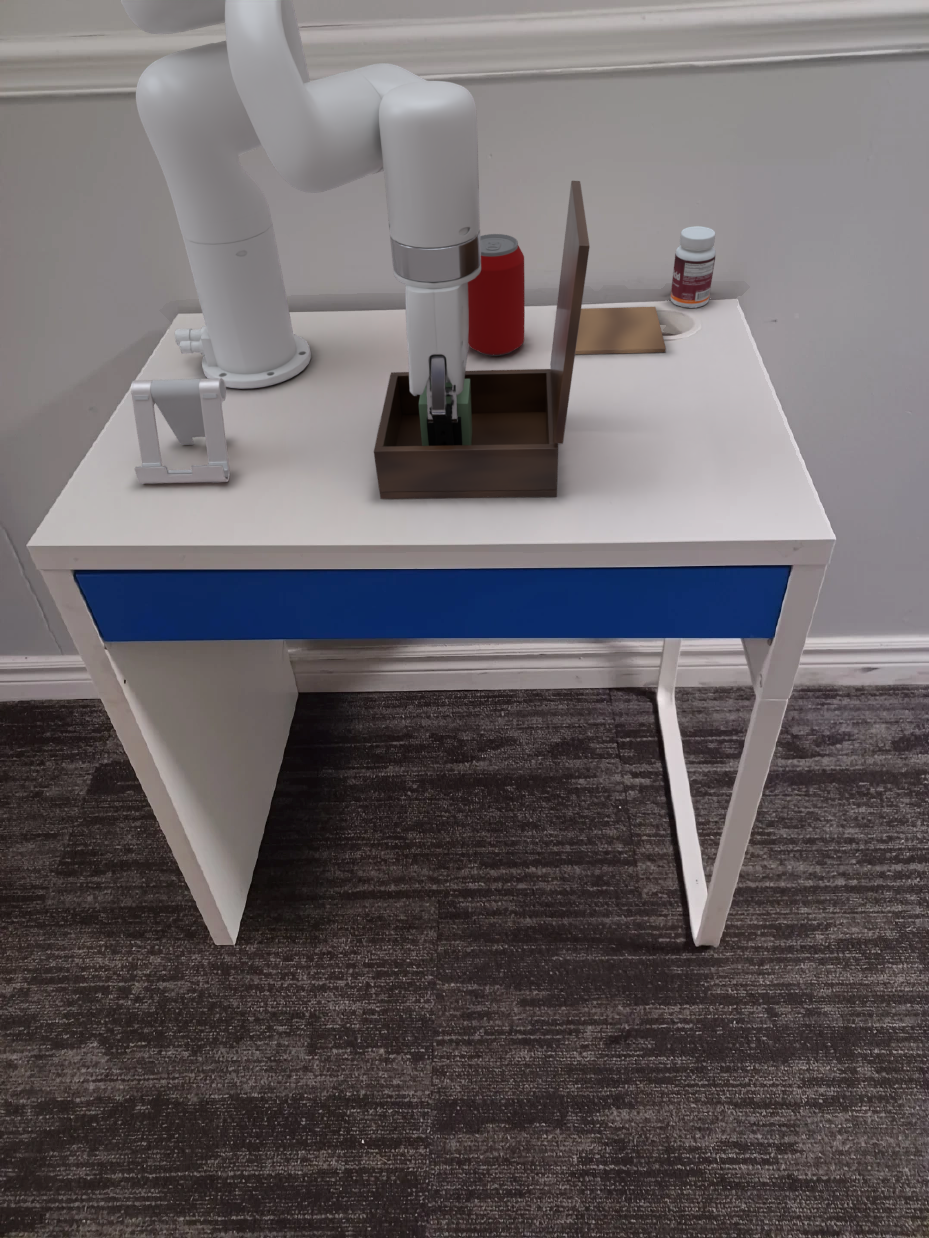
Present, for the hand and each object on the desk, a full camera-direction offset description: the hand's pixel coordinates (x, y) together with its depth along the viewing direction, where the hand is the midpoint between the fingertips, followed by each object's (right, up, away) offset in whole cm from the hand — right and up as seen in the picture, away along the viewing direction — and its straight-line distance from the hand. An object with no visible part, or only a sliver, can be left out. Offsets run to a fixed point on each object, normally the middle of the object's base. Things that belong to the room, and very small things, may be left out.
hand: (447, 437), depth 87 cm
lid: (+10, +9, -10) cm, 17 cm away
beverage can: (+5, +14, +18) cm, 23 cm away
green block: (0, -1, +1) cm, 1 cm away
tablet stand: (-26, -2, +2) cm, 26 cm away
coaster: (+19, +16, +19) cm, 32 cm away
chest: (+2, -2, +1) cm, 3 cm away
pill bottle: (+30, +22, +24) cm, 44 cm away
